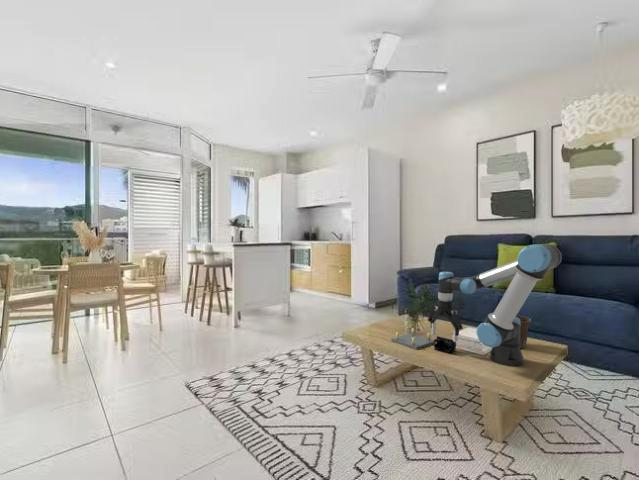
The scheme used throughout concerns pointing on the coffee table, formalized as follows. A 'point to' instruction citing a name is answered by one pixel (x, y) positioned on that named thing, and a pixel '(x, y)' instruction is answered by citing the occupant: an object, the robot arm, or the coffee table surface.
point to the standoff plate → (417, 341)
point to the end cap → (444, 345)
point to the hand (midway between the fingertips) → (444, 337)
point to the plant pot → (523, 330)
